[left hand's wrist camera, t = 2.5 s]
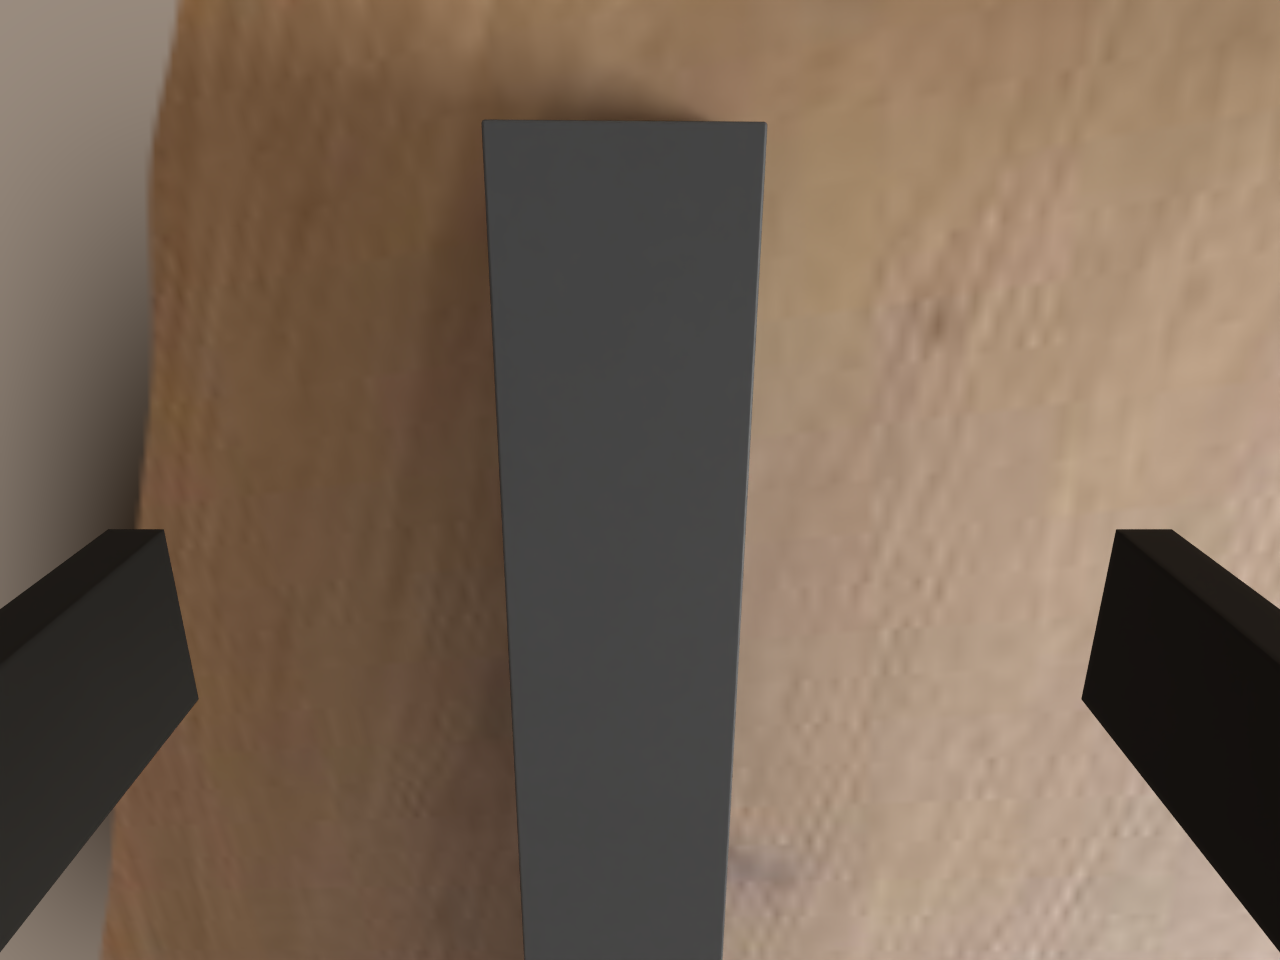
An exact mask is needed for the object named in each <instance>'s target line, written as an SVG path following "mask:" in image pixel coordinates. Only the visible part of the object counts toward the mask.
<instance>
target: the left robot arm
mask: <svg viewBox="0 0 1280 960" xmlns="http://www.w3.org/2000/svg"><path fill="white" fill-rule="evenodd" d="M197 701H198V694H197V689H196V684H195V679H194V675H193V670H192V665H191V660H190V655H189V650H188V645H187V640H186V636H185V631H184V626H183V621H182V616H181V611H180V606H179V601H178V596H177V592H176V587H175V582H174V577H173V572H172V567H171V562H170V557H169V553H168V548H167V543H166V538H165V533H164V529H108V530H107V531H105V532H104V533H103V534H101V535H100V536H99V537H97V538H96V539H95V540H93V541H92V542H91V543H89V544H88V545H86V546H85V547H84V548H82V549H81V550H80V551H78V552H77V553H76V554H74V555H73V556H72V557H70V558H69V559H68V560H66V561H65V562H64V563H62V564H61V565H59V566H58V567H57V568H55V569H54V570H53V571H51V572H50V573H49V574H47V575H46V576H45V577H43V578H42V579H41V580H39V581H38V582H37V583H35V584H34V585H32V586H31V587H30V588H28V589H27V590H26V591H24V592H23V593H22V594H20V595H19V596H18V597H16V598H15V599H14V600H12V601H11V602H9V603H8V604H7V605H5V606H4V607H3V608H1V609H0V952H1V950H2V949H3V948H4V947H5V945H6V944H7V943H8V942H9V940H10V939H11V938H12V936H13V935H14V934H15V933H16V931H17V930H18V929H19V927H20V926H21V925H22V924H23V922H24V921H25V920H26V919H27V917H28V916H29V915H30V913H31V912H32V911H33V910H34V908H35V907H36V906H37V905H38V903H39V902H40V901H41V899H42V898H43V897H44V896H45V894H46V893H47V892H48V891H49V889H50V888H51V887H52V885H53V884H54V883H55V882H56V880H57V879H58V878H59V877H60V875H61V874H62V873H63V871H64V870H65V869H66V868H67V866H68V865H69V864H70V862H71V861H72V860H73V859H74V857H75V856H76V855H77V854H78V852H79V851H80V850H81V848H82V847H83V846H84V845H85V843H86V842H87V841H88V839H89V838H90V837H91V836H92V834H93V833H94V832H95V831H96V829H97V828H98V827H99V825H100V824H101V823H102V822H103V820H104V819H105V818H106V817H107V815H108V814H109V813H110V811H111V810H112V809H113V808H114V806H115V805H116V804H117V803H118V801H119V800H120V799H121V797H122V796H123V795H124V794H125V792H126V791H127V790H128V789H129V787H130V786H131V785H132V783H133V782H134V781H135V780H136V778H137V777H138V776H139V774H140V773H141V772H142V771H143V769H144V768H145V767H146V766H147V764H148V763H149V762H150V760H151V759H152V758H153V757H154V755H155V754H156V753H157V752H158V750H159V749H160V748H161V746H162V745H163V744H164V743H165V741H166V740H167V739H168V738H169V736H170V735H171V734H172V732H173V731H174V730H175V729H176V727H177V726H178V725H179V723H180V722H181V721H182V720H183V718H184V717H185V716H186V715H187V713H188V712H189V711H190V709H191V708H192V707H193V706H194V704H195V703H196V702H197ZM1082 701H1083V702H1084V703H1085V704H1086V706H1087V707H1088V708H1089V709H1090V711H1091V712H1092V713H1093V715H1094V716H1095V717H1096V718H1097V720H1098V721H1099V722H1100V723H1101V725H1102V726H1103V727H1104V729H1105V730H1106V731H1107V732H1108V734H1109V735H1110V736H1111V738H1112V739H1113V740H1114V741H1115V743H1116V744H1117V745H1118V746H1119V748H1120V749H1121V750H1122V752H1123V753H1124V754H1125V755H1126V757H1127V758H1128V759H1129V760H1130V762H1131V763H1132V764H1133V766H1134V767H1135V768H1136V769H1137V771H1138V772H1139V773H1140V774H1141V776H1142V777H1143V778H1144V780H1145V781H1146V782H1147V783H1148V785H1149V786H1150V787H1151V789H1152V790H1153V791H1154V792H1155V794H1156V795H1157V796H1158V797H1159V799H1160V800H1161V801H1162V803H1163V804H1164V805H1165V806H1166V808H1167V809H1168V810H1169V811H1170V813H1171V814H1172V815H1173V817H1174V818H1175V819H1176V820H1177V822H1178V823H1179V824H1180V826H1181V827H1182V828H1183V829H1184V831H1185V832H1186V833H1187V834H1188V836H1189V837H1190V838H1191V840H1192V841H1193V842H1194V843H1195V845H1196V846H1197V847H1198V848H1199V850H1200V851H1201V852H1202V854H1203V855H1204V856H1205V857H1206V859H1207V860H1208V861H1209V862H1210V864H1211V865H1212V866H1213V868H1214V869H1215V870H1216V871H1217V873H1218V874H1219V875H1220V877H1221V878H1222V879H1223V880H1224V882H1225V883H1226V884H1227V885H1228V887H1229V888H1230V889H1231V891H1232V892H1233V893H1234V894H1235V896H1236V897H1237V898H1238V899H1239V901H1240V902H1241V903H1242V905H1243V906H1244V907H1245V908H1246V910H1247V911H1248V912H1249V913H1250V915H1251V916H1252V917H1253V919H1254V920H1255V921H1256V922H1257V924H1258V925H1259V926H1260V928H1261V929H1262V930H1263V931H1264V933H1265V934H1266V935H1267V936H1268V938H1269V939H1270V940H1271V942H1272V943H1273V944H1274V945H1275V947H1276V948H1277V949H1278V950H1279V952H1280V609H1279V608H1277V607H1276V606H1275V605H1273V604H1272V603H1271V602H1269V601H1268V600H1267V599H1265V598H1264V597H1262V596H1261V595H1260V594H1258V593H1257V592H1256V591H1254V590H1253V589H1252V588H1250V587H1249V586H1248V585H1246V584H1245V583H1244V582H1242V581H1241V580H1239V579H1238V578H1237V577H1235V576H1234V575H1233V574H1231V573H1230V572H1229V571H1227V570H1226V569H1225V568H1223V567H1222V566H1221V565H1219V564H1218V563H1216V562H1215V561H1214V560H1212V559H1211V558H1210V557H1208V556H1207V555H1206V554H1204V553H1203V552H1202V551H1200V550H1199V549H1198V548H1196V547H1195V546H1194V545H1192V544H1191V543H1189V542H1188V541H1187V540H1185V539H1184V538H1183V537H1181V536H1180V535H1179V534H1177V533H1176V532H1175V531H1173V530H1172V529H1116V533H1115V538H1114V543H1113V548H1112V553H1111V557H1110V562H1109V567H1108V572H1107V577H1106V582H1105V587H1104V592H1103V596H1102V601H1101V606H1100V611H1099V616H1098V621H1097V626H1096V631H1095V636H1094V640H1093V645H1092V650H1091V655H1090V660H1089V665H1088V670H1087V675H1086V679H1085V684H1084V689H1083V694H1082Z"/></svg>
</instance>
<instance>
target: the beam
mask: <svg viewBox="0 0 1280 960" xmlns="http://www.w3.org/2000/svg"><path fill="white" fill-rule="evenodd" d="M766 140H767V123H766V122H720V121H597V120H483V121H482V142H483V162H484V181H485V201H486V220H487V240H488V260H489V279H490V299H491V318H492V338H493V357H494V377H495V397H496V416H497V436H498V455H499V475H500V494H501V514H502V533H503V553H504V573H505V592H506V612H507V631H508V651H509V670H510V690H511V710H512V729H513V749H514V768H515V788H516V807H517V827H518V847H519V866H520V886H521V905H522V925H523V944H524V960H722V957H723V938H724V920H725V901H726V883H727V864H728V845H729V827H730V808H731V790H732V771H733V753H734V734H735V715H736V697H737V678H738V660H739V641H740V623H741V604H742V585H743V567H744V548H745V530H746V511H747V493H748V474H749V455H750V437H751V418H752V400H753V381H754V363H755V344H756V325H757V307H758V288H759V270H760V251H761V233H762V214H763V195H764V177H765V158H766Z"/></svg>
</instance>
